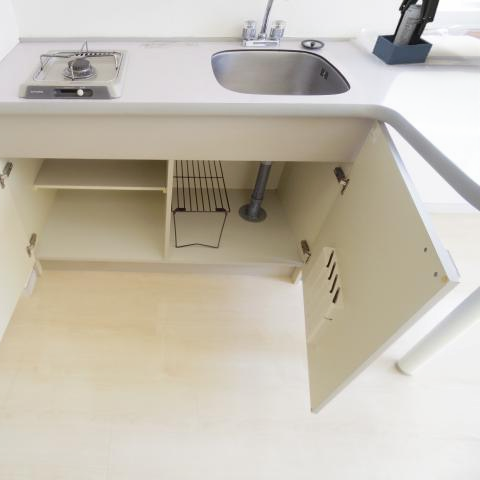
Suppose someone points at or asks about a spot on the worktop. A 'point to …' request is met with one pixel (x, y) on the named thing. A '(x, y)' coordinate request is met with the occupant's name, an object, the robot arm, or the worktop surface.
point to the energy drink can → (408, 25)
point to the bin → (401, 51)
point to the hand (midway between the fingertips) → (404, 40)
